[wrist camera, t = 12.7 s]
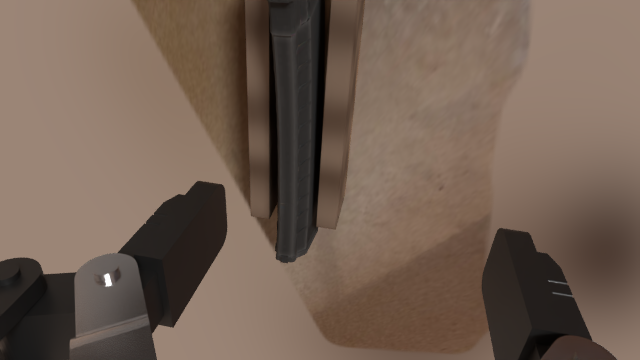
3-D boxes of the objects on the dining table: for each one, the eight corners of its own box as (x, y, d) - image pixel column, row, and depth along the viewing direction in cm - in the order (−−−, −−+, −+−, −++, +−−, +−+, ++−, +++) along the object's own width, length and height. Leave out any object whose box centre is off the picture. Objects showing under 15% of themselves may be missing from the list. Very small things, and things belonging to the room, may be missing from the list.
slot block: (269, -45, 39) (243, -41, 33) (368, -37, 38) (360, -31, 32) (269, 182, 51) (250, 215, 45) (344, 194, 50) (335, 229, 44)
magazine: (303, 292, 45) (274, 17, 23) (273, 287, 46) (216, 13, 24) (331, 175, 57) (328, -83, 35) (306, 172, 57) (289, -84, 35)
